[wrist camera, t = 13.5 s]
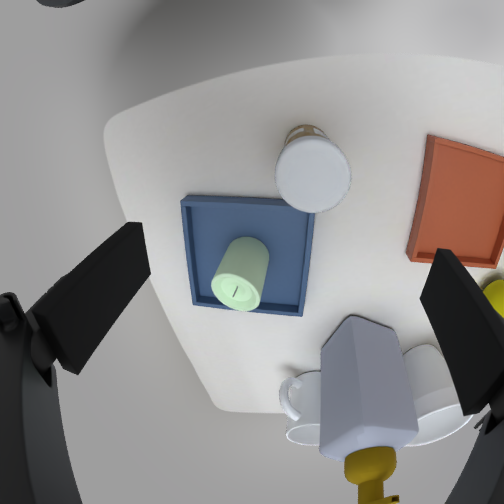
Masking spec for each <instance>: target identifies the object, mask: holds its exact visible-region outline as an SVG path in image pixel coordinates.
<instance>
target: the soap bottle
mask: <svg viewBox="0 0 504 504" xmlns="http://www.w3.org/2000/svg"><path fill="white" fill-rule="evenodd" d="M320 355H321V409H320V443H319V451H320V453H321V454H322V455H323V456H325V457H327V458H330V459H334V460H338V461H341V462H344V463H345V464H344V469H345V470H344V473H345V477H346V479H347V480H348V481H349V482H351V483H353V484H356V485H358V504H396V503H398V502H399V495H393V496H389V497H386V498H384V493H383V492H384V490H383V481H385V480H387V479H388V478H389V477H390V476H391V475H392V474H393V472H394V470H395V468H396V463H397V461H396V452H397V451H398V450H400V449H401V448H403V447H404V446H405V445H407V444H408V443H410V442H411V441H412V440H413V439H414V438H415V436H416V435H417V434H418V432H419V426H418V420H417V415H416V410H415V405H414V401H413V396H412V392H411V387H410V383H409V379H408V375H407V371H406V367H405V363H404V359H403V356H402V352H401V348H400V345H399V341H398V338H397V334H396V333H395V332H394V330H392V329H389V328H387V327H384V326H381V325H378V324H376V323H373V322H370V321H368V320H365V319H362V318H360V317H356V316H350V317H349V318H347V319H346V320H344V322H343V323H342V324H341V325H340V327H339V328H338V329H337V331H336V332H335V333H334V334H333V336H332V337H331V338H330V339H329V341H328V342H327V343H326V344H325V345H324V347H323V348H322V349H321V354H320Z"/></svg>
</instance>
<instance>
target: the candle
mask: <svg viewBox="0 0 504 504" xmlns="http://www.w3.org/2000/svg"><path fill="white" fill-rule="evenodd" d="M268 263H269V252H268V249H267V248H266V246H265V245H264V244H263V243H262V242H261V241H259V240H257V239H256V238H252V237H240V238H237V239H235V240H234V241H232V242H231V243H230V245H229V247H228V249H227V251H226V253H225V255H224V257H223V259H222V261H221V263H220V265H219V267H218V269H217V271H216V273H215V275H214V277H213V279H212V282H211V287H212V291H213V293H214V295H215V296H216V297H217V298H218V300H220V301H221V302H222V303H223V304H225V305H226V306H228V307H230V308H232V309H235V310H239V311H251V310H253V309H255V308H257V307H258V305H259V303H260V300H261V295H262V290H263V286H264V281H265V277H266V272H267V267H268Z"/></svg>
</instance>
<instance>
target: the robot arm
mask: <svg viewBox="0 0 504 504" xmlns="http://www.w3.org/2000/svg"><path fill="white" fill-rule="evenodd" d="M150 275H151V272H150V267H149V261H148V256H147V250H146V245H145V239H144V232H143V226H142V223H141V222H127V223H126V224H125V225H124V226H122V227H121V228H120V229H119V230H118V231H116V232H115V233H114V234H113V235H112V236H110V237H109V238H108V239H107V240H106V241H104V242H103V243H102V244H101V245H100V246H99V247H97V248H96V249H95V250H94V251H93V252H92V253H91V254H90V255H88V256H87V257H86V258H85V259H84V260H83V261H82V262H81V263H79V264H78V265H77V266H76V267H75V268H74V269H73V270H72V271H71V272H70V273H68V274H66V275H65V276H63V277H61V278H60V279H59V280H58V281H57V282H56V283H55V284H54V286H53V287H51V288H50V289H49V290H48V291H47V293H45V294H44V295H43V296H42V297H41V298H40V299H39V300H38V301H37V302H36V303H35V304H34V305H33V306H32V307H31V308H30V309H29V310H28V311H27V312H26V313H24V311H23V309H22V307H21V305H20V303H19V301H18V298H17V296H16V295H15V294H14V293H11V292H7V293H3V294H1V295H0V504H82V501H81V498H80V494H79V491H78V488H77V485H76V481H75V478H74V475H73V471H72V467H71V463H70V459H69V455H68V450H67V446H66V441H65V436H64V431H63V425H62V419H61V412H60V405H59V397H58V388H57V377H56V369H55V366H54V365H53V362H54V361H55V360H56V358H57V359H58V361H59V363H60V364H61V366H62V368H63V369H65V370H67V371H69V372H72V373H74V374H76V375H79V373H80V372H81V370H82V369H83V367H84V366H85V364H86V363H87V361H88V359H89V358H90V357H91V355H92V354H93V352H94V351H95V349H96V348H97V346H98V345H99V344H100V342H101V341H102V339H103V338H104V336H105V335H106V334H107V332H108V331H109V329H110V328H111V327H112V325H113V324H114V323H115V321H116V320H117V318H118V317H119V316H120V314H121V313H122V312H123V310H124V309H125V307H126V306H127V305H128V303H129V302H130V301H131V299H132V298H133V297H134V295H135V294H136V293H137V291H138V290H139V289H140V288H141V286H142V285H143V284H144V282H145V281H146V280H147V278H148V277H149V276H150ZM420 301H421V303H422V305H423V307H424V310H425V312H426V314H427V316H428V319H429V321H430V323H431V326H432V328H433V330H434V333H435V335H436V338H437V340H438V342H439V345H440V348H441V350H442V353H443V355H444V358H445V361H446V363H447V366H448V369H449V372H450V375H451V378H452V380H453V383H454V386H455V390H456V393H457V396H458V399H459V402H460V406H461V409H462V413H463V416H468V415H473V414H477V413H480V411H481V410H482V409H483V408H484V407H485V406H486V405H487V404H488V403H489V405H490V408H491V410H490V411H489V412H488V413H487V414H486V415H485V416H484V417H483V418H482V419H481V420H480V421H479V422H478V423H477V424H476V425H475V427H474V428H475V429H476V428H478V426H480V425H481V424H482V423H483V425H482V427H481V429H480V430H479V431H480V433H479V435H478V438H477V440H476V443H475V445H474V448H473V450H472V452H471V454H470V456H469V459H468V461H467V463H466V465H465V467H464V469H463V471H462V473H461V476H460V477H459V479H458V481H457V483H456V485H455V486H454V488H453V490H452V492H451V494H450V495H449V497H448V499H447V501H446V502H445V504H504V318H503V317H502V316H501V315H500V314H499V313H498V312H497V311H496V310H495V309H494V308H493V306H492V305H491V303H490V302H489V300H488V299H487V297H486V296H485V295H484V293H483V292H482V290H481V289H480V287H479V286H478V285H477V283H476V282H475V280H474V279H473V278H472V276H471V275H470V274H469V272H468V271H467V270H466V268H465V267H464V266H463V264H462V263H461V262H460V261H459V259H458V258H457V257H456V256H455V254H454V253H453V252H452V251H451V249H443V248H437V250H436V253H435V257H434V260H433V263H432V266H431V269H430V272H429V275H428V277H427V280H426V283H425V286H424V288H423V291H422V294H421V296H420Z"/></svg>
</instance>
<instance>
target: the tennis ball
mask: <svg viewBox="0 0 504 504" xmlns="http://www.w3.org/2000/svg"><path fill="white" fill-rule="evenodd" d="M483 293H484V295H485V296H486V297H487V299H488V300H489V302H490V303H491V305H492V306H493V308H494V309H495V310H496V311H497V312H498V313H499V314H500V315H501V316H502V317H503V318H504V280H496V281H494V282H492V283H490V284H489V285H488V286H487V287H486V288H485V289H484V291H483Z"/></svg>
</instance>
